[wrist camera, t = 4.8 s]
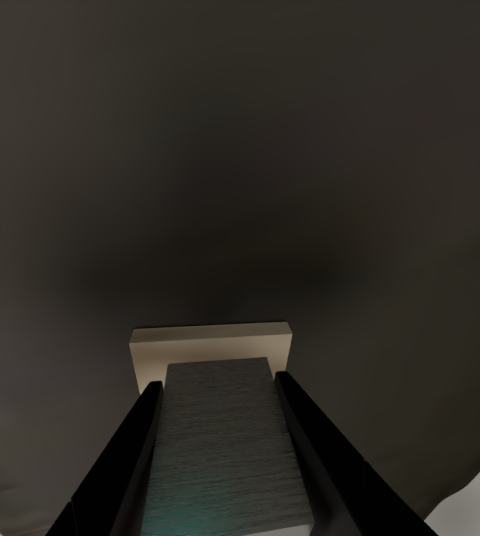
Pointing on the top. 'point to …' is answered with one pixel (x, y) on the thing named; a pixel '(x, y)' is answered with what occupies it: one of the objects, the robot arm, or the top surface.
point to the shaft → (224, 456)
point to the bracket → (207, 346)
